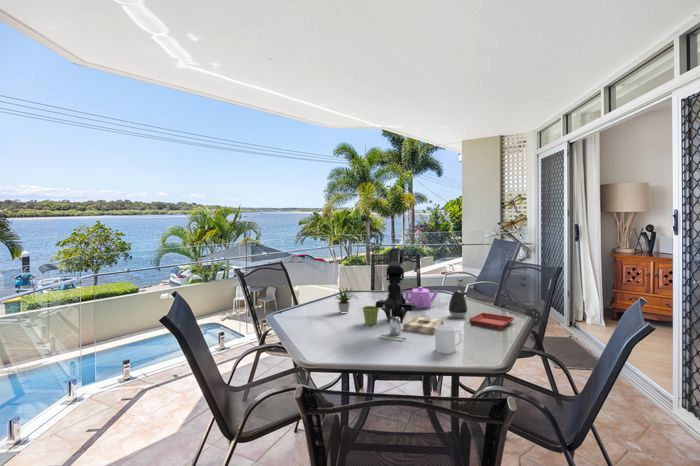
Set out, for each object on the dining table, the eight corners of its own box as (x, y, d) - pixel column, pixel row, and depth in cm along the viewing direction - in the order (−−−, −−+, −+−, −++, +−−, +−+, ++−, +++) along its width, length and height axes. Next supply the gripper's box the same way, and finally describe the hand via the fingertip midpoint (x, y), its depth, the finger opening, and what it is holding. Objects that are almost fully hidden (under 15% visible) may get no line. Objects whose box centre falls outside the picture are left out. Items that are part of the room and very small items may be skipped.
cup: (431, 348, 164) (431, 325, 164) (456, 345, 167) (456, 323, 167) (441, 355, 156) (441, 331, 156) (466, 352, 159) (466, 328, 159)
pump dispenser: (468, 319, 209) (468, 292, 208) (449, 318, 211) (449, 292, 210) (466, 314, 219) (466, 289, 218) (448, 314, 221) (448, 288, 220)
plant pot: (383, 323, 204) (382, 307, 204) (372, 327, 198) (371, 311, 197) (369, 320, 211) (369, 305, 211) (358, 324, 204) (358, 308, 204)
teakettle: (419, 302, 254) (419, 283, 254) (439, 306, 241) (439, 287, 241) (401, 305, 244) (401, 287, 243) (422, 310, 231) (421, 290, 230)
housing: (403, 331, 189) (403, 323, 189) (414, 323, 203) (414, 316, 203) (434, 336, 181) (434, 328, 181) (443, 327, 195) (443, 319, 195)
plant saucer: (468, 325, 200) (467, 318, 200) (482, 317, 213) (482, 312, 213) (502, 331, 188) (502, 325, 188) (515, 323, 201) (515, 317, 201)
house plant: (362, 311, 231) (361, 285, 230) (350, 316, 219) (349, 288, 219) (342, 308, 239) (342, 283, 238) (330, 313, 227) (329, 286, 226)
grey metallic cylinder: (388, 335, 181) (387, 318, 181) (392, 332, 186) (391, 315, 186) (398, 336, 179) (397, 319, 179) (402, 333, 183) (401, 316, 183)
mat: (379, 337, 180) (379, 336, 180) (389, 331, 190) (388, 329, 190) (402, 341, 174) (402, 340, 174) (411, 334, 185) (411, 333, 185)
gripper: (370, 292, 179) (370, 324, 180) (407, 295, 170) (407, 329, 171) (380, 288, 189) (380, 319, 189) (415, 291, 180) (415, 323, 180)
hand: (395, 322), depth 182 cm, fingers open, 6 cm apart
